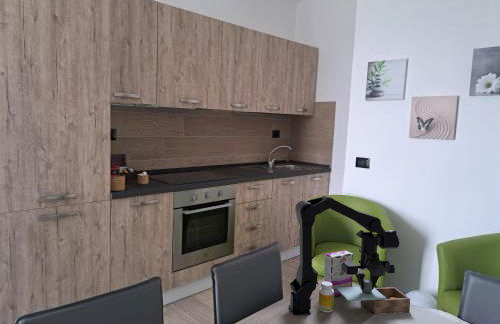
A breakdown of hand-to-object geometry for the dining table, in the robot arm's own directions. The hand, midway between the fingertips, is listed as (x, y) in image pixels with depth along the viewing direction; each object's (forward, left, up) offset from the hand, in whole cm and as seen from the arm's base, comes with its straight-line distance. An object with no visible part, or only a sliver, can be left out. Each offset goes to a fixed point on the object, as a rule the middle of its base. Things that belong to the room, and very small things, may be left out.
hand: (366, 289), depth 130 cm
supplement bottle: (-16, 0, -7) cm, 17 cm away
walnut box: (+7, 0, -7) cm, 10 cm away
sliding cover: (-2, 0, -1) cm, 3 cm away
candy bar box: (-6, +13, -7) cm, 16 cm away
